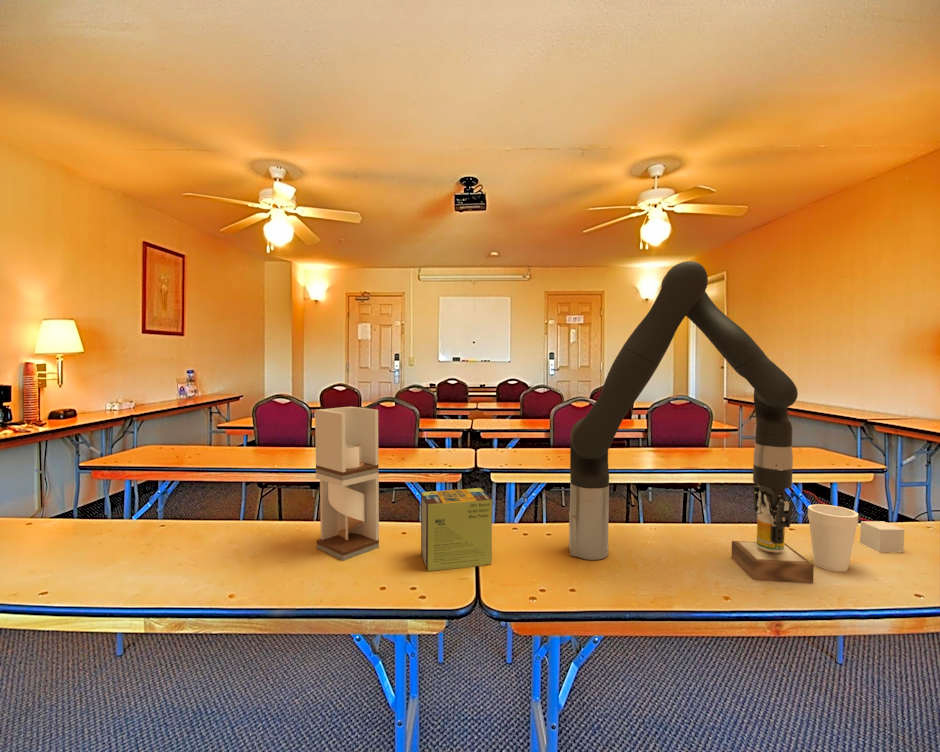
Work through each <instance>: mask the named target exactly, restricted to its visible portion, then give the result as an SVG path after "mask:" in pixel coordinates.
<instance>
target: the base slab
mask: <svg viewBox="0 0 940 752" xmlns="http://www.w3.org/2000/svg"><path fill="white" fill-rule="evenodd" d="M730 557H731V558H732V559H733V560H734V562H735V563H736V564H738V565H739V566H740V567H741V568H742V570H743V571H744V572H745V573H746V574H747V575H748V576H749V577H750V578H751V579H752V580H754V581H755V580H756V581H769V582H770V581H771V582H772V581H773V582H787V583H803V584H814V576H815V575H814V573H815V572H814V571H815V569H814V567H815V564H814V563H812V562H811V561H809V560H808V559H807V558H805V557H804V556H803V555H801V554H800V553H799V552H798V551H796V550H795V549H794V548H792V547H791V546H789V545H788V544H787V543H785V542H784V550H783V551H782V552H769V551H765V550H762V549H760V548H759V547H758V546H757V541H744V540H743V541H741V540H732V541H731V556H730Z"/></svg>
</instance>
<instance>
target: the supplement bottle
mask: <svg viewBox="0 0 940 752" xmlns="http://www.w3.org/2000/svg"><path fill="white" fill-rule="evenodd" d="M772 511H773V512H777V510H772ZM761 512H762V513H761V514H759V515H757V518H756V525H757V526H756V542H757V546H758V547H759V548H760V549H762V550H765V551H769V552H782V551H783V550H784V543H785V531H786V529H785V528H786V527H784V528H783V543H782V544H775V543H772V542H771V526H772V525H771V519H770V516H769V515H768V514H767V507H766V506H765V505H761ZM775 520H776V516H775Z"/></svg>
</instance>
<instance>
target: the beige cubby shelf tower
mask: <svg viewBox="0 0 940 752" xmlns="http://www.w3.org/2000/svg"><path fill="white" fill-rule="evenodd" d="M314 416H315V417H314V420H315V421H314V423H315V425H314V427H315V431H314V432H315V433H314V434H315V439H314V440H315V479H316V480H319V494H320V497H319V502H320V503H319V504H320V505H319V506H320V508H319V509H320V514H319V515H320V516H319V517H320V538H319V539H317V540H316V549H318V550H320V551H322V552H324V553H326V554H328V555H330V556H332V557H335V558H336V559H339V560H341V561H343V562H344V561H347V560H349V559H352V558H354V557H357V556H360V555H363V554H365V553H368V552H371V551H373V550H376V549H380V527H379V526H380V515H379V514H380V508H379V506H380V505H379V503H380V501H379V500H380V499H379V498H380V496H379V495H380V494H379V490H380V489H379V486H380V485H379V483H380V482H379V477H380V476H379V474H380V472H379V409H373V408H367V407H357V406H343V407H342V406H341V407H334V408H333V407H331V408H324V409H323V408H320V409H315V410H314Z"/></svg>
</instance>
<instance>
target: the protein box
mask: <svg viewBox="0 0 940 752" xmlns="http://www.w3.org/2000/svg"><path fill="white" fill-rule="evenodd" d="M492 515H493V499H492V498H491V497H490V496H489V495H488V494H487V493H486V492H485V491H484V490H483V489H482V488H481V487H475V488H461V489H445V490H436V491H433V490H432V491H423V492H421V493H420V523H421V525H420V526H421V527H420V532H421V533H420V535H421V537H420V538H421V540H420V547H421V548H420V553H421V557H422V560H423V563H424V565H425V568H426V571H427V572H433V571H441V570H442V571H444V570H453V569H461V568H462V569H463V568H471V567H472V568H473V567H479V566H480V567H481V566H482V565H483V566H486V565H485V564H491V563H492V564H493V561H492V559H493V557H492V555H493V547H492V546H493V543H492V542H493V536H492V534H493V529H492V528H493V524H492V523H493V516H492ZM492 564H491V565H492Z"/></svg>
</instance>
